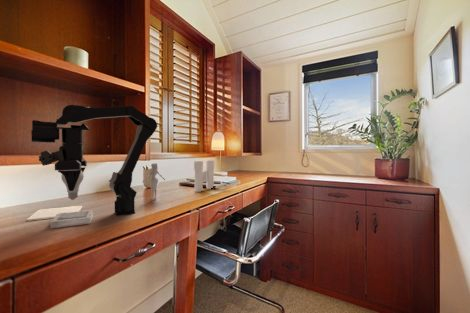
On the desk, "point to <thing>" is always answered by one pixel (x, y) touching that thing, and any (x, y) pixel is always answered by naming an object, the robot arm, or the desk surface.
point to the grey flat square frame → (68, 221)
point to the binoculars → (204, 175)
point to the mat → (52, 212)
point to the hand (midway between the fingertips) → (72, 189)
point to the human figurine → (153, 179)
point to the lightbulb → (74, 193)
